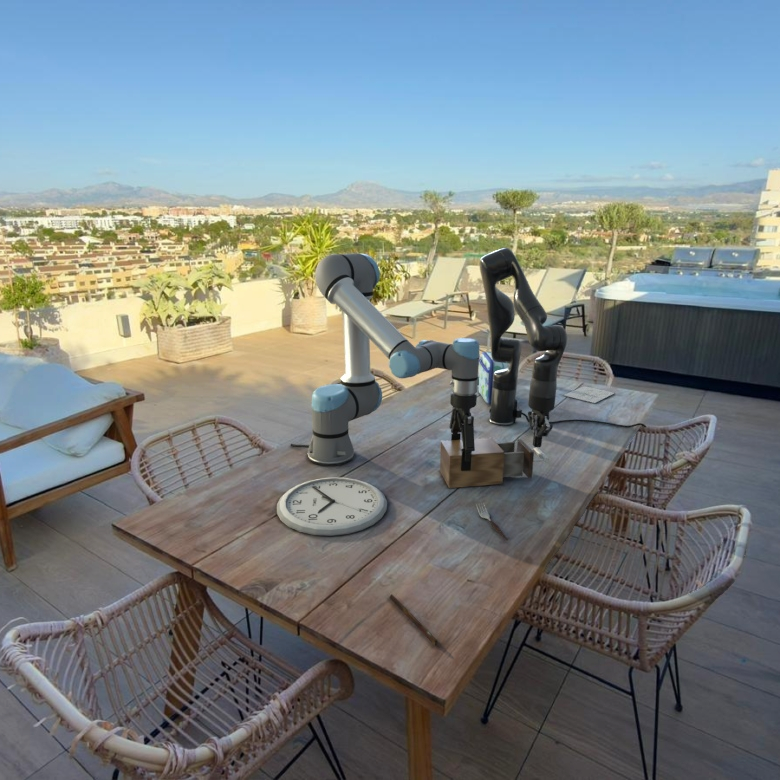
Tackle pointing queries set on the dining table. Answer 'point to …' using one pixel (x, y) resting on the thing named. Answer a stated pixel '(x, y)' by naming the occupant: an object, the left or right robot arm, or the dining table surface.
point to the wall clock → (331, 506)
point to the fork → (487, 516)
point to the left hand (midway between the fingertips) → (460, 461)
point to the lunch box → (488, 375)
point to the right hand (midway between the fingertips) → (536, 446)
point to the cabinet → (472, 463)
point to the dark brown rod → (413, 619)
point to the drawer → (520, 459)
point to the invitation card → (589, 394)
